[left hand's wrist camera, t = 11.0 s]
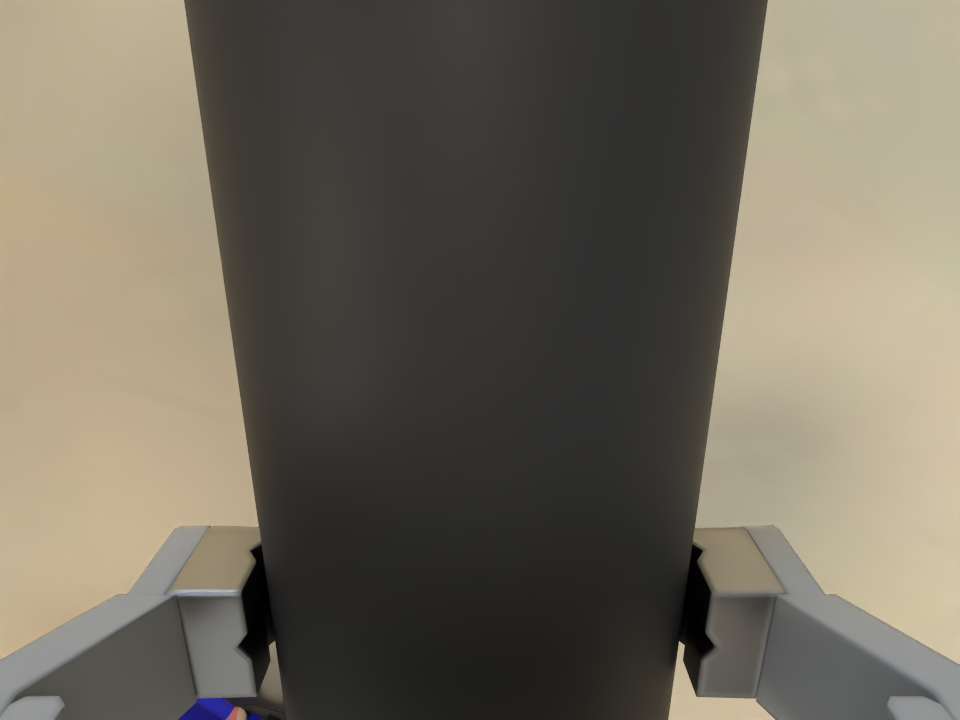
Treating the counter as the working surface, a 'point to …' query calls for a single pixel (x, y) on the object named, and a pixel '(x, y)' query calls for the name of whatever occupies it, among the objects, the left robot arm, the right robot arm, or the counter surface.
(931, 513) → the counter surface
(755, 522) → the counter surface
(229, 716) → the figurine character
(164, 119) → the counter surface
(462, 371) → the rod
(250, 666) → the left robot arm
